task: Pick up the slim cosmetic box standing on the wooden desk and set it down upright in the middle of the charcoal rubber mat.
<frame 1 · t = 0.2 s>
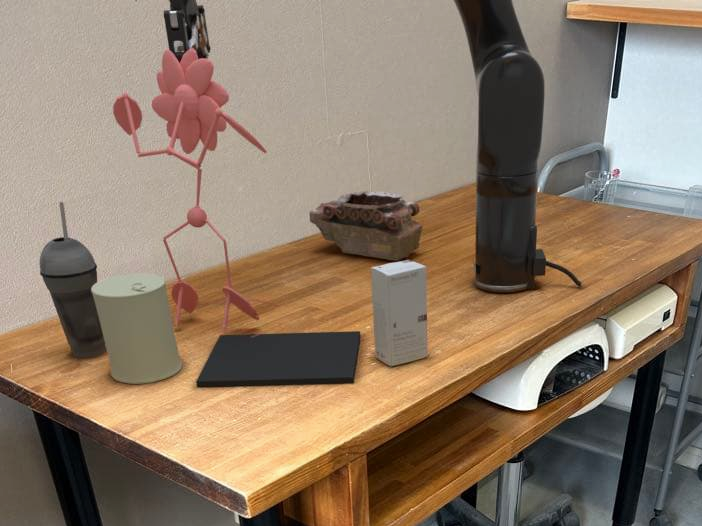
hand: (197, 92, 123), 29 cm above the table, tool pointing down, fingers open, 8 cm apart
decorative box: (361, 255, 155), on the table
mat: (283, 360, 115), on the table
cosmetic box: (401, 358, 115), on the table
can: (147, 371, 114), on the table
beverage cup: (90, 353, 120), on the table
figurine: (230, 318, 128), on the table
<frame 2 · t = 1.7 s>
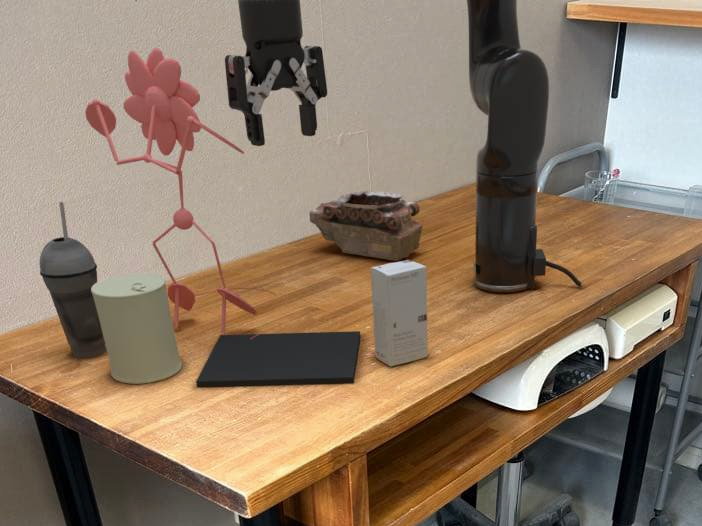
hand: (284, 140, 114), 25 cm above the table, tool pointing down, fingers open, 8 cm apart
figurine: (229, 312, 128), point 1 cm above the table, touching mat
everything else where it was.
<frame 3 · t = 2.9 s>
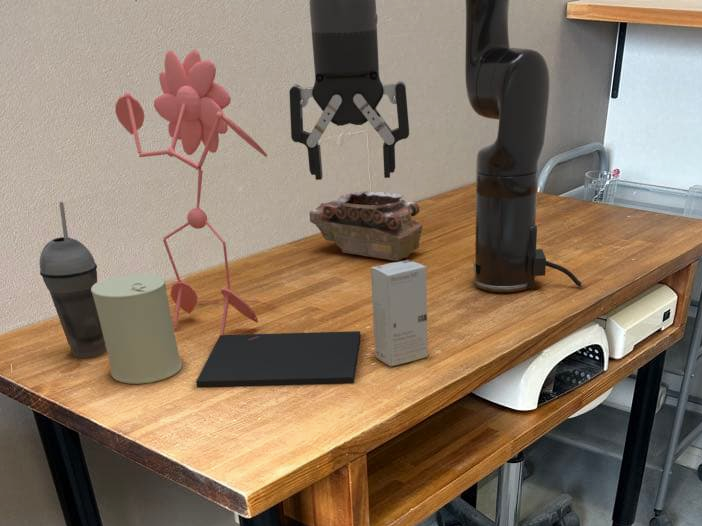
hand: (353, 177, 107), 22 cm above the table, tool pointing down, fingers open, 8 cm apart
figurine: (229, 319, 128), on the table, touching mat
everything else where it was.
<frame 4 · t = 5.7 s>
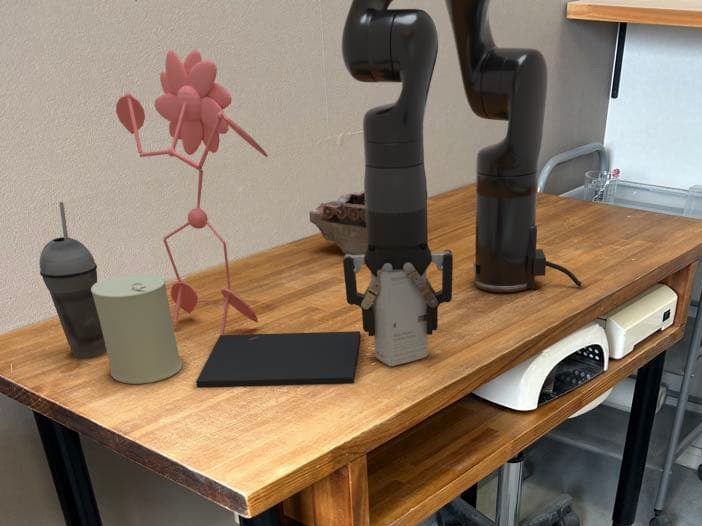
hand: (400, 333, 113), 3 cm above the table, tool pointing down, fingers closed on cosmetic box, 7 cm apart
cosmetic box: (401, 358, 115), on the table, touching gripper
everything else where it was.
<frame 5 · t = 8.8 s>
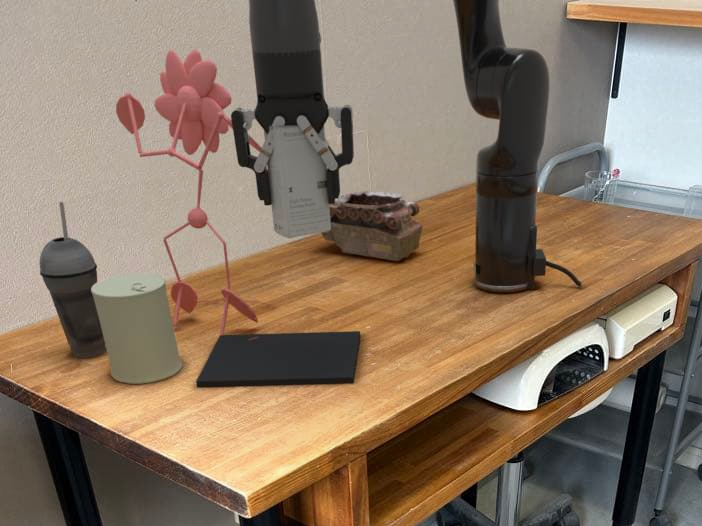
hand: (300, 203, 103), 20 cm above the table, tool pointing down, fingers closed on cosmetic box, 7 cm apart
cosmetic box: (303, 233, 105), point 17 cm above the table, touching gripper
everything else where it was.
when the fingers open (4 cm above the table, at t = 12.4 s): cosmetic box stays where it is, resting on mat.
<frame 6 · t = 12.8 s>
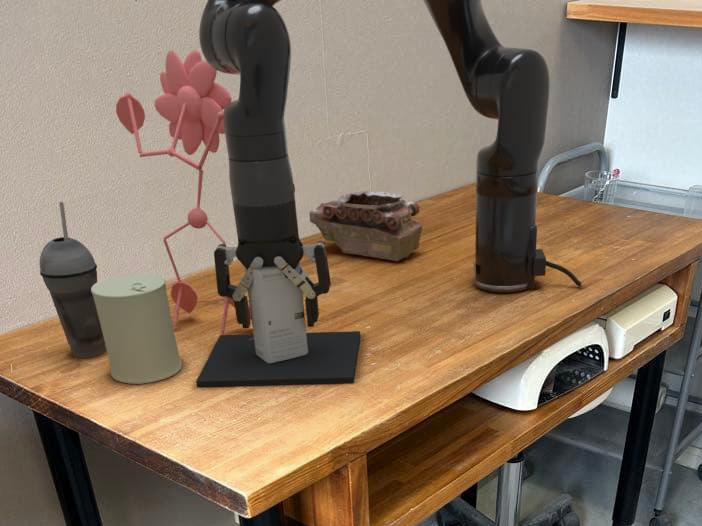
hand: (279, 325, 112), 5 cm above the table, tool pointing down, fingers open, 8 cm apart
cosmetic box: (282, 356, 115), point 1 cm above the table, touching mat
everything else where it was.
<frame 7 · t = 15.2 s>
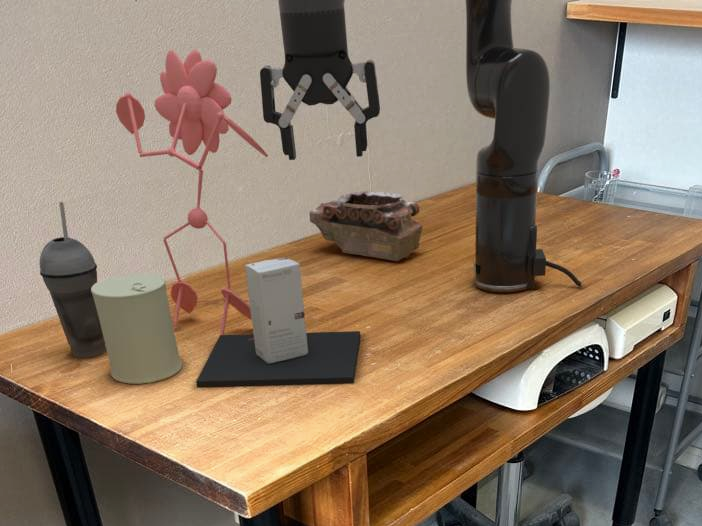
hand: (326, 157, 108), 24 cm above the table, tool pointing down, fingers open, 8 cm apart
nothing on the table moved.
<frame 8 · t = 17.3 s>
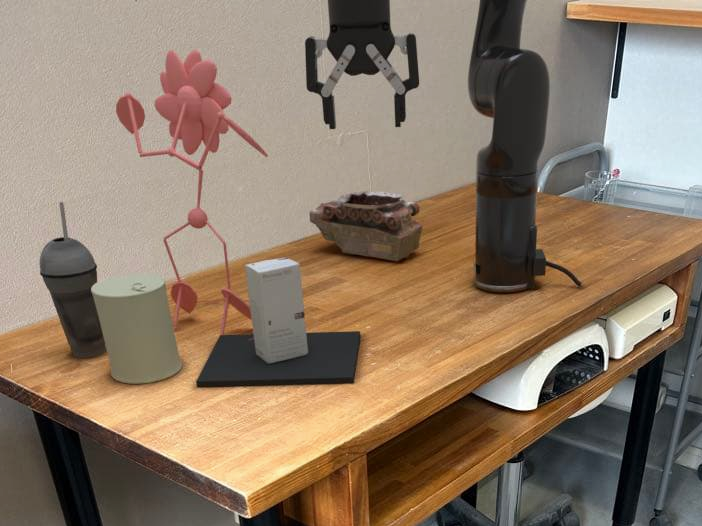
hand: (365, 127, 112), 26 cm above the table, tool pointing down, fingers open, 8 cm apart
nothing on the table moved.
at the end: cosmetic box inside the target area on the mat (0.1 cm from its centre), point 0.6 cm above the mat's base; cosmetic box tilted 0°; the gripper is holding nothing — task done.
